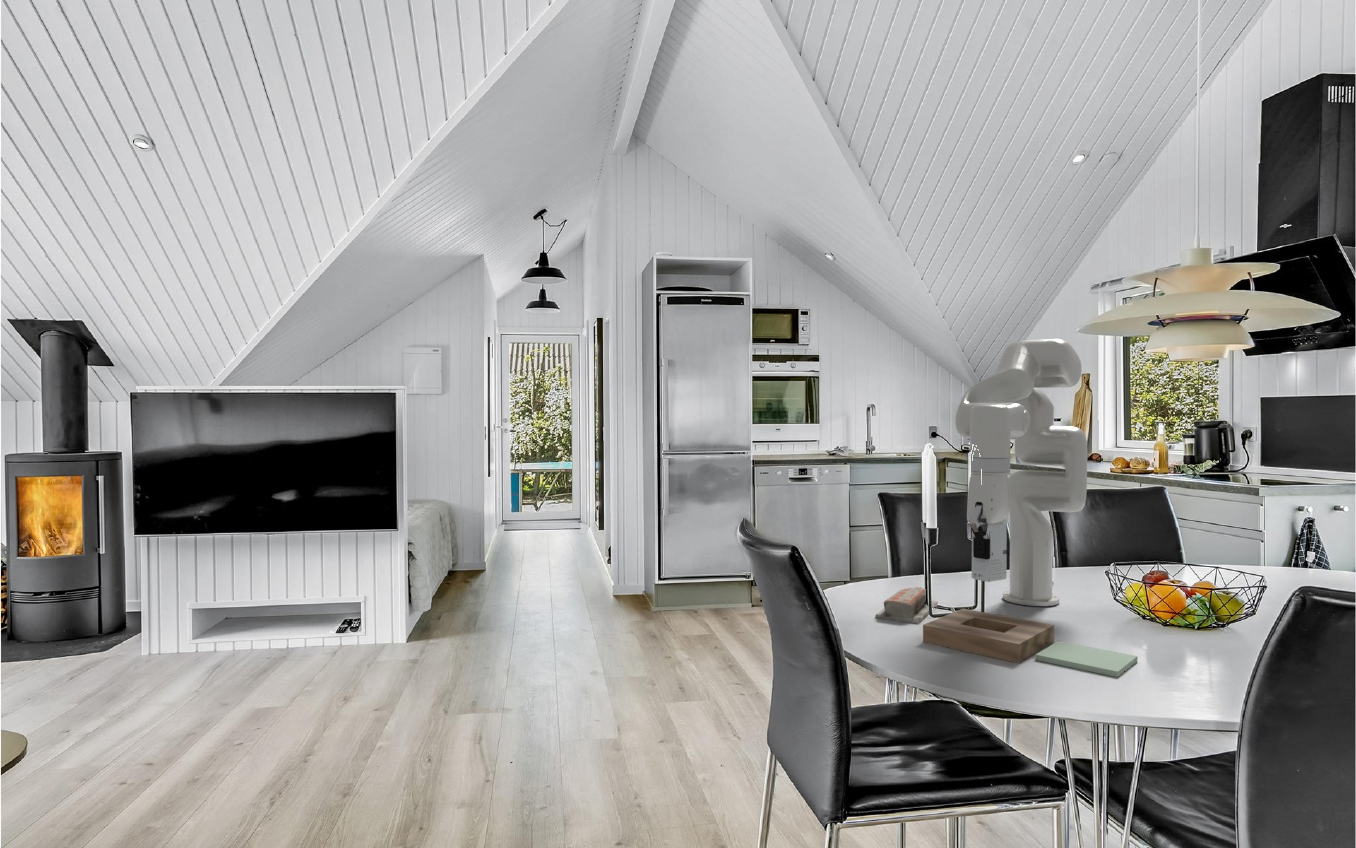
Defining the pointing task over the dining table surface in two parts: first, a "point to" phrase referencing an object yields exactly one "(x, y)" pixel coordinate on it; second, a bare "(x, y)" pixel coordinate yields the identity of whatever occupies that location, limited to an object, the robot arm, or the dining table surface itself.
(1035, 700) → the dining table surface
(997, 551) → the skincare box
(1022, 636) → the pocket block
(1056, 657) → the mat
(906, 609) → the pink and beige block
